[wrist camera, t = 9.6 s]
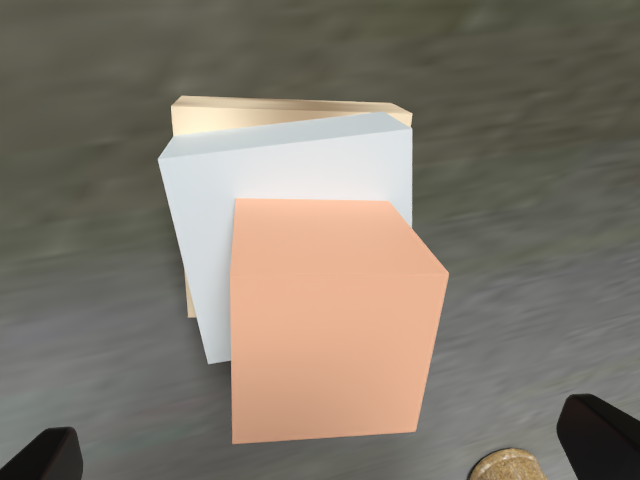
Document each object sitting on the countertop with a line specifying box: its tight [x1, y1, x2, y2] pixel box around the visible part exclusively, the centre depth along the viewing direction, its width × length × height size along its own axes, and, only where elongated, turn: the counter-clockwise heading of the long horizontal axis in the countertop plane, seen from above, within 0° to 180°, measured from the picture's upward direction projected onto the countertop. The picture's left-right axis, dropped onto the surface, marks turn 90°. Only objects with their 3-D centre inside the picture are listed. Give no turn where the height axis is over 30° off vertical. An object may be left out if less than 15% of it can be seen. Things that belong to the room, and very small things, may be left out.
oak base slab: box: [171, 96, 412, 318], centre depth 18 cm, size 8×8×3 cm
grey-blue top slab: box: [158, 112, 412, 364], centre depth 15 cm, size 7×7×3 cm
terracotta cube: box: [230, 198, 449, 444], centre depth 12 cm, size 4×4×4 cm
